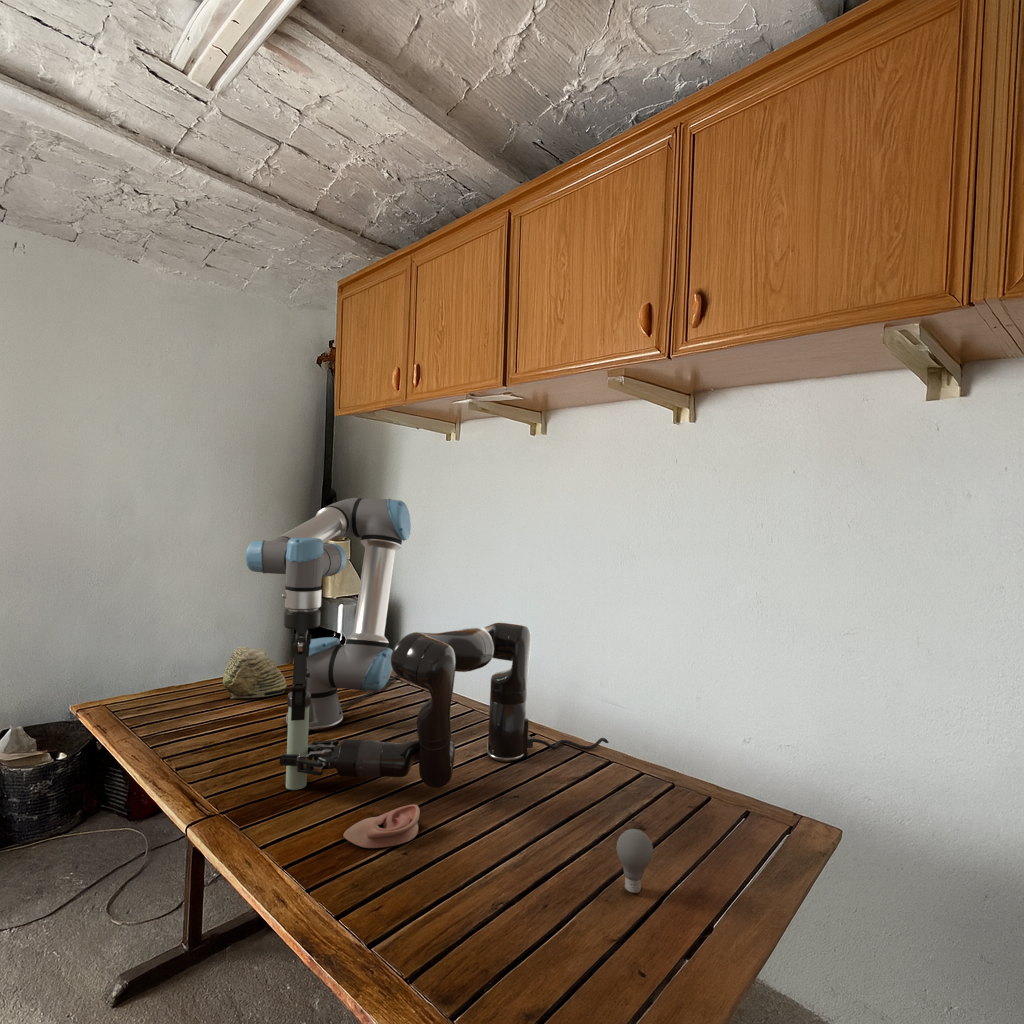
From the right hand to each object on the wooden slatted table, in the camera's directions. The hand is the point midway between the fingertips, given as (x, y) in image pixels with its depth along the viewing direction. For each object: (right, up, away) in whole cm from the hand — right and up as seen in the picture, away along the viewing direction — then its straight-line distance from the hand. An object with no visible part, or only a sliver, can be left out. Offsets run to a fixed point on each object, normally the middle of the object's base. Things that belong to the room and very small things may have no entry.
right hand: (284, 755), depth 138 cm
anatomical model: (+25, -8, -18) cm, 32 cm away
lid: (+3, +13, 0) cm, 13 cm away
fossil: (-31, -4, +60) cm, 67 cm away
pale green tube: (+2, -7, 0) cm, 7 cm away
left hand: (+3, +9, 0) cm, 10 cm away
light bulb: (+70, -10, -33) cm, 78 cm away
